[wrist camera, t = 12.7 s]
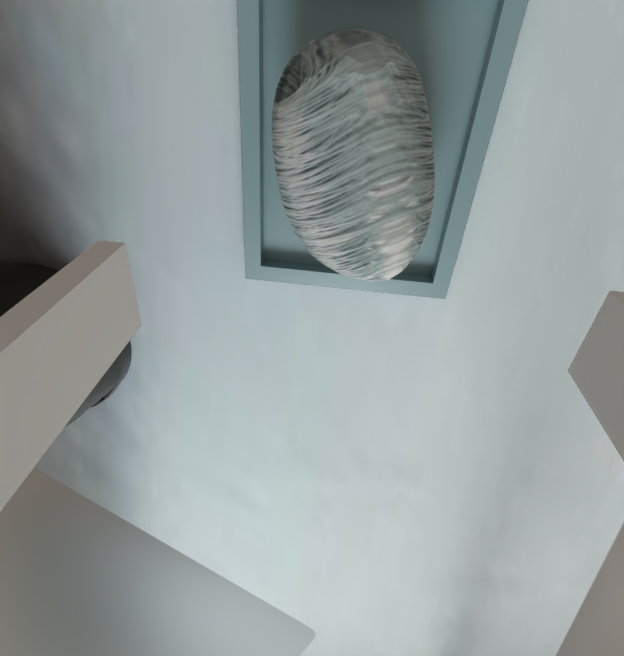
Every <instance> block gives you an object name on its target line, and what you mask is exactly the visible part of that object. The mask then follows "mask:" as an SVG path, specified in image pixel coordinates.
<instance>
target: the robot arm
mask: <svg viewBox="0 0 624 656" xmlns="http://www.w3.org/2000/svg"><path fill="white" fill-rule="evenodd" d="M140 326H141V320H140V315H139V310H138V305H137V300H136V295H135V290H134V285H133V280H132V275H131V270H130V265H129V260H128V255H127V250H126V245H125V243H119V242H109V241H99V240H98V241H97V242H96V243H94V244H93V245H92V246H91V247H89V248H88V249H87V250H85V251H84V252H83V253H82V254H80V255H79V256H78V257H76V258H75V259H74V260H73V261H71V262H70V263H69V264H68V265H66V266H65V267H64V268H62V269H61V270H60V271H59V272H57V271H54V270H52V269H48V268H45V267H41V266H36V265H30V264H8V265H3V266H0V511H1V510H2V509H3V508H4V506H5V505H6V504H7V502H8V501H9V499H10V498H11V497H12V495H13V494H14V493H15V491H16V490H17V489H18V487H19V486H20V485H21V484H22V482H23V481H24V479H25V478H26V477H27V476H28V474H29V473H30V472H31V470H32V469H33V468H34V466H35V465H36V464H37V462H38V461H39V460H40V458H41V457H42V456H43V454H44V453H45V452H46V451H47V449H48V448H49V447H50V445H51V444H52V443H53V441H54V440H55V439H56V437H57V436H58V435H59V433H60V432H61V431H62V429H63V428H64V427H65V426H67V425H68V424H70V423H71V422H73V421H74V420H75V419H77V418H78V417H79V416H81V415H82V414H83V413H84V412H85V411H86V410H88V409H89V408H90V407H93V406H96V405H98V404H99V403H101V402H102V401H104V400H105V399H107V398H108V397H109V396H110V395H111V394H112V393H113V392H114V391H115V390H116V388H117V387H118V386H119V384H120V383H121V381H122V380H123V378H124V377H125V375H126V374H127V372H128V369H129V367H130V362H131V348H130V343H129V341H130V340H131V338H132V337H133V336H134V334H135V333H136V332H137V330H138V329H139V328H140ZM568 372H569V373H570V375H571V376H572V378H573V380H574V381H575V383H576V384H577V386H578V388H579V389H580V391H581V393H582V394H583V396H584V397H585V399H586V401H587V402H588V404H589V406H590V407H591V409H592V410H593V412H594V414H595V415H596V417H597V419H598V420H599V422H600V423H601V425H602V427H603V428H604V430H605V432H606V433H607V435H608V436H609V438H610V440H611V441H612V443H613V445H614V446H615V448H616V449H617V451H618V453H619V454H620V456H621V458H622V459H623V461H624V292H618V291H609V293H608V295H607V297H606V299H605V301H604V303H603V305H602V306H601V308H600V310H599V312H598V314H597V316H596V318H595V320H594V322H593V324H592V326H591V327H590V329H589V331H588V333H587V335H586V337H585V339H584V341H583V343H582V345H581V347H580V348H579V350H578V352H577V354H576V356H575V358H574V360H573V362H572V364H571V366H570V367H569V369H568Z"/></svg>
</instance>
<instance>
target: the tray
mask: <svg viewBox="0 0 624 656" xmlns="http://www.w3.org/2000/svg"><path fill="white" fill-rule="evenodd" d="M527 4H528V0H237V15H238V48H239V81H240V115H241V148H242V181H243V215H244V248H245V279H254V280H264V281H274V282H284V283H294V284H303V285H313V286H323V287H333V288H343V289H352V290H362V291H372V292H382V293H392V294H401V295H411V296H421V297H431V298H441V299H446V295H447V291H448V288H449V284H450V281H451V277H452V273H453V270H454V266H455V263H456V259H457V255H458V252H459V248H460V245H461V241H462V237H463V234H464V230H465V227H466V223H467V219H468V216H469V212H470V209H471V205H472V201H473V198H474V194H475V191H476V187H477V183H478V180H479V176H480V173H481V169H482V165H483V162H484V158H485V155H486V151H487V147H488V144H489V140H490V137H491V133H492V129H493V126H494V122H495V119H496V115H497V112H498V108H499V104H500V101H501V97H502V94H503V90H504V86H505V83H506V79H507V76H508V72H509V68H510V65H511V61H512V58H513V54H514V50H515V47H516V43H517V40H518V36H519V32H520V29H521V25H522V22H523V18H524V14H525V11H526V7H527ZM342 29H363V30H368V31H374V32H378V33H382V34H384V35H385V36H387V37H389V38H391V39H393V40H394V41H396V42H397V43H398V44H399V45H400V46H402V47H403V48H404V49H405V50H406V52H407V54H408V55H409V57H410V58H411V60H412V61H413V63H414V65H415V66H416V68H417V71H418V73H419V75H420V78H421V82H422V86H423V91H424V94H425V98H426V101H427V105H428V112H429V118H430V124H431V131H432V140H433V149H434V172H435V186H434V200H433V207H432V213H431V218H430V223H429V227H428V230H427V233H426V236H425V238H424V240H423V243H422V245H421V247H420V249H419V251H418V253H417V254H416V256H415V257H414V258H413V260H412V261H411V262H410V263H409V264H408V266H407V267H406V268H405V269H404V270H403V271H401V272H400V273H399V274H398V275H396V276H394V277H393V278H391V279H389V280H384V281H376V282H371V281H364V280H359V279H355V278H351V277H348V276H345V275H342V274H340V273H338V272H336V271H334V270H332V269H330V268H329V267H327V266H325V265H324V264H322V263H320V262H319V261H318V260H317V259H316V258H315V257H314V256H312V255H311V254H310V253H309V252H308V250H307V249H306V248H305V247H304V246H303V244H302V243H301V241H300V240H299V239H298V237H297V235H296V234H295V232H294V230H293V227H292V225H291V223H290V220H289V218H288V216H287V214H286V211H285V209H284V206H283V203H282V199H281V195H280V191H279V186H278V180H277V174H276V168H275V163H274V156H273V149H272V110H273V103H274V97H275V91H276V88H277V85H278V83H279V80H280V78H281V75H282V73H283V71H284V68H285V66H286V65H287V63H288V62H289V61H290V59H291V58H292V57H293V56H294V55H295V53H296V52H297V51H298V50H299V49H300V48H302V47H303V46H305V45H306V44H307V43H309V42H310V41H312V40H313V39H315V38H317V37H319V36H322V35H324V34H327V33H330V32H333V31H337V30H342Z"/></svg>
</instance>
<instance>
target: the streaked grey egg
mask: <svg viewBox="0 0 624 656" xmlns="http://www.w3.org/2000/svg"><path fill="white" fill-rule="evenodd" d="M272 149H273V156H274V163H275V168H276V174H277V180H278V186H279V191H280V195H281V199H282V203H283V206H284V209H285V211H286V214H287V216H288V218H289V220H290V223H291V225H292V227H293V230H294V232H295V234H296V235H297V237H298V239H299V240H300V241H301V243H302V244H303V246H304V247H305V248H306V249H307V250H308V252H309V253H310V254H311V255H312V256H314V257H315V258H316V259H317V260H318V261H319V262H320V263H322V264H324V265H325V266H327V267H329V268H330V269H332V270H334V271H336V272H338V273H340V274H342V275H345V276H348V277H351V278H355V279H359V280H364V281H371V282H376V281H384V280H389V279H391V278H393V277H394V276H396V275H398V274H399V273H400V272H401V271H403V270H404V269H405V268H406V267H407V266H408V264H409V263H410V262H411V261H412V260H413V258H414V257H415V256H416V254H417V253H418V251H419V249H420V247H421V245H422V243H423V240H424V238H425V236H426V233H427V230H428V227H429V223H430V218H431V213H432V207H433V200H434V186H435V172H434V149H433V140H432V131H431V124H430V118H429V112H428V105H427V101H426V98H425V94H424V91H423V86H422V82H421V78H420V75H419V73H418V71H417V68H416V66H415V65H414V63H413V61H412V60H411V58H410V57H409V55H408V54H407V52H406V50H405V49H404V48H403V47H402V46H400V45H399V44H398V43H397V42H396V41H394V40H393V39H391V38H389V37H387V36H385V35H384V34H382V33H378V32H374V31H368V30H363V29H342V30H337V31H333V32H330V33H327V34H324V35H322V36H319V37H317V38H315V39H313V40H312V41H310V42H309V43H307V44H306V45H305V46H303V47H302V48H300V49H299V50H298V51H297V52H296V53H295V55H294V56H293V57H292V58H291V59H290V61H289V62H288V63H287V65H286V66H285V68H284V71H283V73H282V75H281V78H280V80H279V83H278V85H277V88H276V91H275V97H274V103H273V110H272Z"/></svg>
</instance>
